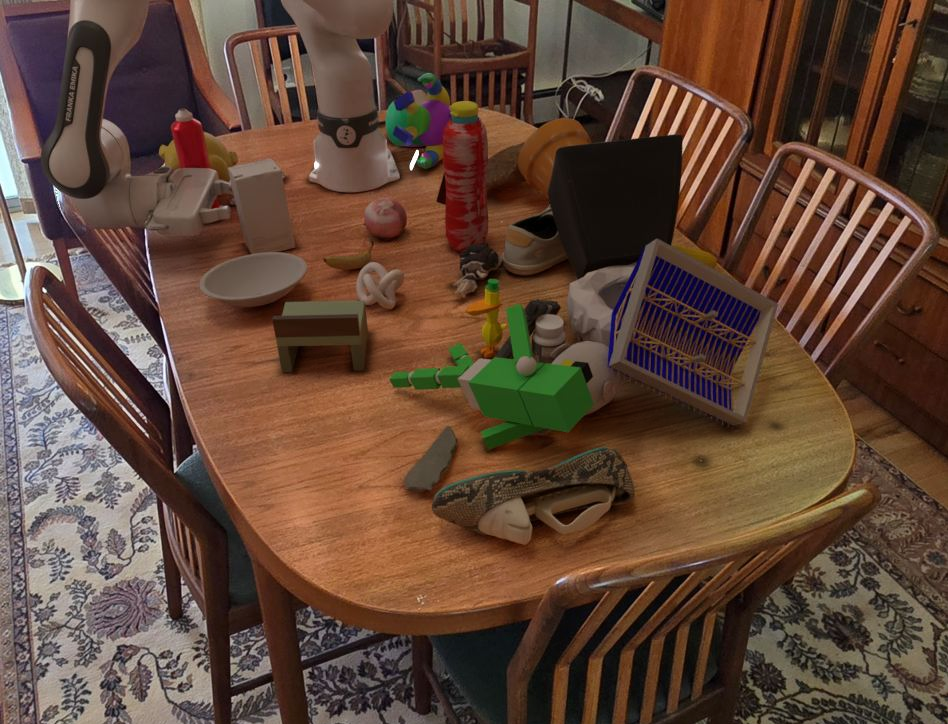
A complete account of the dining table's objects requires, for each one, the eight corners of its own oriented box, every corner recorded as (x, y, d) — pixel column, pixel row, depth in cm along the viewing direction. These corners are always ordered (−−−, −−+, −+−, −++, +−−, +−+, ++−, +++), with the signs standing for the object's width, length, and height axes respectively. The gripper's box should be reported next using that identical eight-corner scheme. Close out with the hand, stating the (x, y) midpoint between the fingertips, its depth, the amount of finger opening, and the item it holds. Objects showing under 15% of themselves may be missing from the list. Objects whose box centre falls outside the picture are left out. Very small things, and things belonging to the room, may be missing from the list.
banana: (330, 281, 146) (327, 260, 143) (322, 276, 147) (319, 255, 145) (379, 263, 151) (377, 242, 148) (371, 258, 152) (369, 237, 149)
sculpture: (235, 193, 164) (239, 207, 177) (236, 125, 162) (239, 144, 175) (153, 187, 161) (162, 201, 174) (152, 117, 159) (162, 137, 172)
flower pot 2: (698, 241, 125) (683, 130, 126) (570, 256, 125) (556, 144, 126) (670, 278, 144) (657, 182, 145) (558, 291, 144) (546, 195, 145)
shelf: (291, 335, 133) (282, 284, 127) (368, 334, 133) (362, 282, 127) (282, 372, 126) (271, 319, 120) (363, 370, 126) (357, 317, 120)
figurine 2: (485, 304, 139) (514, 255, 148) (466, 270, 135) (497, 223, 145) (451, 313, 143) (481, 266, 152) (432, 280, 139) (464, 234, 149)
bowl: (606, 398, 120) (614, 337, 113) (540, 327, 134) (543, 269, 127) (729, 364, 126) (743, 304, 119) (654, 299, 140) (662, 242, 133)
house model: (617, 366, 107) (591, 377, 113) (744, 427, 112) (713, 434, 119) (658, 233, 110) (631, 251, 117) (779, 299, 116) (747, 312, 123)
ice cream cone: (449, 118, 201) (425, 89, 210) (434, 109, 198) (410, 79, 206) (437, 136, 203) (413, 106, 212) (422, 126, 200) (399, 96, 208)
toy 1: (466, 370, 131) (627, 393, 110) (402, 430, 124) (560, 467, 103) (430, 291, 123) (596, 299, 102) (360, 351, 116) (521, 372, 95)
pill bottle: (528, 362, 127) (530, 313, 122) (560, 360, 127) (563, 311, 122) (533, 381, 124) (535, 331, 118) (565, 379, 124) (569, 329, 118)
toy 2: (589, 316, 115) (580, 365, 123) (503, 371, 109) (500, 418, 118) (643, 360, 111) (630, 408, 119) (557, 419, 105) (550, 465, 114)
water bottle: (425, 237, 158) (417, 96, 141) (460, 226, 161) (457, 86, 145) (463, 262, 151) (460, 116, 134) (499, 249, 154) (500, 105, 137)
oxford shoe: (635, 228, 159) (641, 183, 154) (534, 286, 144) (536, 239, 138) (588, 211, 165) (592, 167, 159) (486, 265, 149) (486, 219, 144)
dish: (288, 269, 149) (283, 242, 146) (327, 303, 140) (323, 276, 137) (192, 300, 142) (184, 273, 138) (227, 338, 133) (220, 310, 130)
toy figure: (473, 366, 126) (472, 293, 118) (462, 354, 129) (460, 282, 121) (512, 353, 129) (514, 281, 121) (500, 342, 131) (501, 270, 123)
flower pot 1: (619, 153, 154) (586, 106, 159) (548, 180, 152) (517, 132, 157) (612, 208, 167) (581, 164, 172) (547, 234, 165) (518, 189, 170)
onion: (367, 246, 156) (363, 208, 151) (362, 227, 161) (358, 190, 156) (410, 241, 157) (408, 204, 152) (404, 223, 162) (402, 186, 158)
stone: (400, 497, 107) (434, 500, 104) (395, 485, 106) (429, 487, 103) (444, 434, 115) (477, 435, 112) (440, 422, 114) (472, 423, 111)
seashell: (513, 152, 183) (547, 118, 169) (530, 192, 184) (566, 162, 170) (438, 175, 175) (468, 141, 161) (457, 217, 176) (488, 187, 162)
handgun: (512, 361, 138) (551, 296, 135) (524, 369, 138) (563, 304, 135) (482, 370, 120) (526, 295, 117) (496, 378, 120) (541, 304, 116)
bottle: (215, 208, 168) (192, 102, 154) (225, 218, 164) (202, 110, 151) (188, 215, 166) (162, 108, 152) (198, 225, 162) (172, 117, 149)
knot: (345, 307, 140) (341, 274, 136) (372, 285, 145) (369, 253, 141) (385, 318, 137) (382, 285, 133) (410, 295, 142) (408, 263, 138)
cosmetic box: (287, 236, 159) (273, 156, 149) (296, 249, 155) (283, 168, 145) (242, 245, 156) (226, 165, 146) (251, 259, 152) (234, 177, 142)
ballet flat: (431, 472, 95) (459, 540, 90) (625, 428, 102) (661, 489, 97) (426, 515, 102) (452, 580, 97) (608, 470, 109) (641, 529, 104)
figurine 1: (418, 67, 167) (477, 81, 182) (364, 69, 174) (425, 82, 190) (414, 167, 173) (472, 172, 188) (362, 164, 180) (422, 169, 196)
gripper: (134, 211, 140) (219, 209, 140) (165, 161, 155) (242, 160, 155) (145, 246, 144) (227, 244, 144) (174, 195, 159) (248, 193, 159)
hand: (235, 200), depth 150 cm, fingers open, 8 cm apart
